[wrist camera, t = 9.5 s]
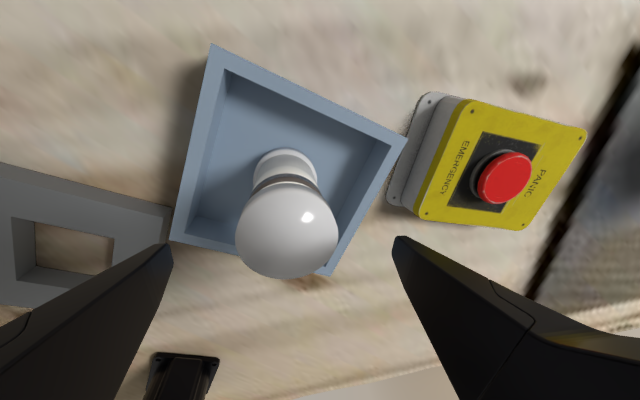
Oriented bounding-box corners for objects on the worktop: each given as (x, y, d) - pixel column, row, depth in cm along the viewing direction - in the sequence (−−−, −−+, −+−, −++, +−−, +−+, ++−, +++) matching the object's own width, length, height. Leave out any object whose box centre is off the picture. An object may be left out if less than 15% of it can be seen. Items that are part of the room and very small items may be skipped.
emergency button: (461, 88, 13) (637, 137, 16) (419, 87, 17) (568, 127, 20) (403, 227, 17) (555, 244, 20) (380, 201, 21) (511, 218, 24)
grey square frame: (151, 307, 21) (142, 322, 20) (-8, 284, 18) (-31, 300, 17) (172, 208, 17) (163, 218, 16) (-25, 155, 14) (-57, 162, 13)
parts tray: (324, 253, 21) (330, 276, 19) (185, 217, 18) (168, 239, 15) (389, 130, 17) (408, 138, 15) (224, 51, 14) (211, 42, 11)
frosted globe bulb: (301, 210, 18) (314, 287, 11) (247, 192, 17) (222, 267, 10) (324, 160, 17) (355, 213, 10) (266, 137, 16) (253, 179, 8)
